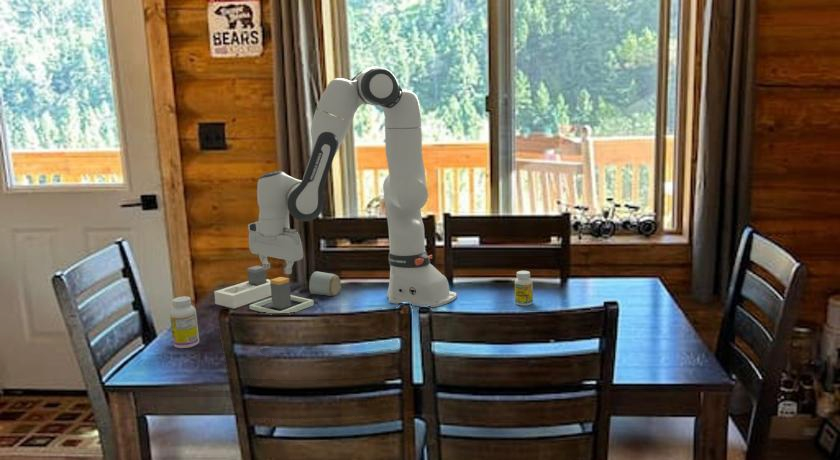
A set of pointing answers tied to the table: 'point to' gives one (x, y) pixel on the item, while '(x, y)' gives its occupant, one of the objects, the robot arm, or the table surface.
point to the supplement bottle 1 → (184, 323)
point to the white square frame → (303, 305)
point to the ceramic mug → (324, 284)
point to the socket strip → (242, 294)
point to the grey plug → (280, 292)
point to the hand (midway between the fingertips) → (277, 271)
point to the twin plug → (256, 275)
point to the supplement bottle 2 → (523, 288)
